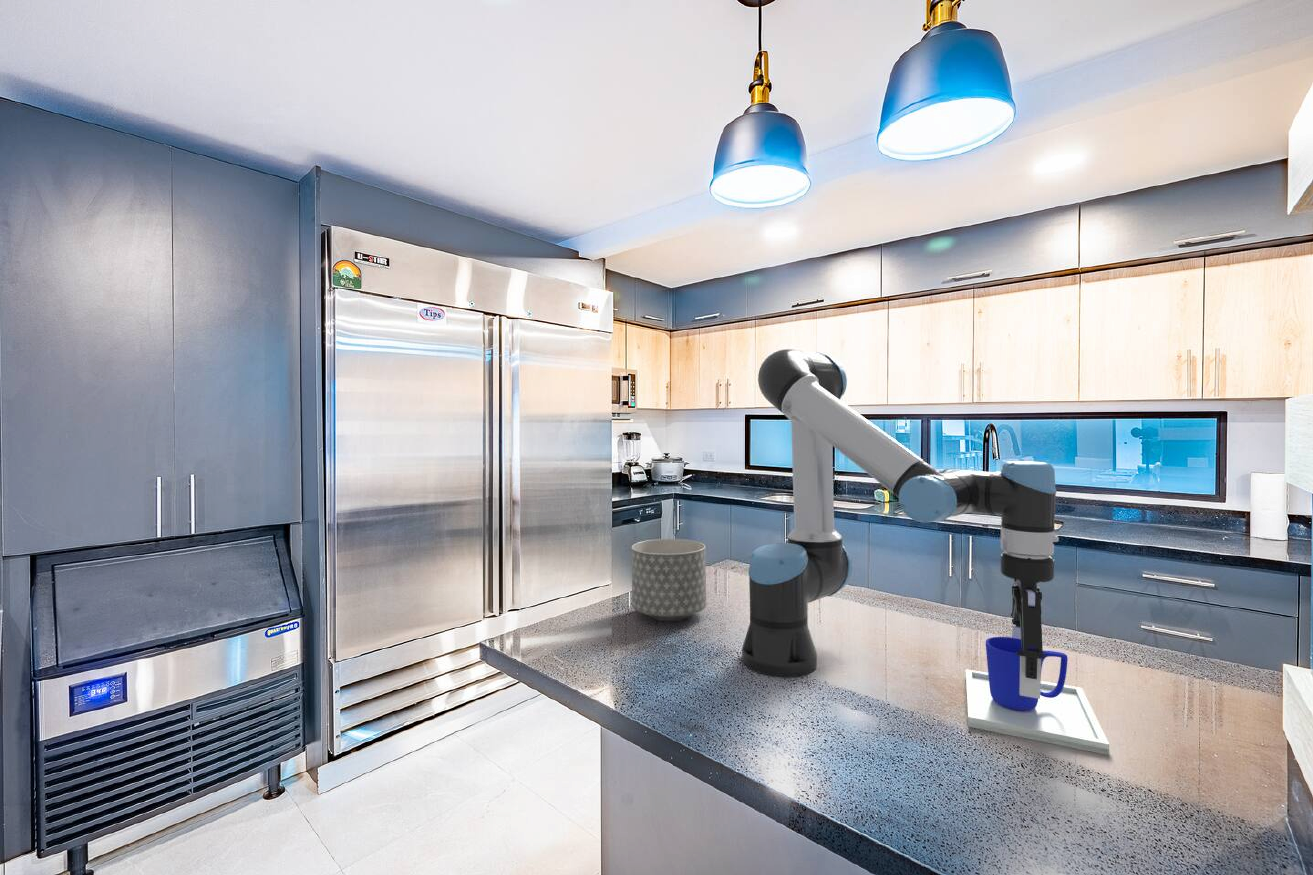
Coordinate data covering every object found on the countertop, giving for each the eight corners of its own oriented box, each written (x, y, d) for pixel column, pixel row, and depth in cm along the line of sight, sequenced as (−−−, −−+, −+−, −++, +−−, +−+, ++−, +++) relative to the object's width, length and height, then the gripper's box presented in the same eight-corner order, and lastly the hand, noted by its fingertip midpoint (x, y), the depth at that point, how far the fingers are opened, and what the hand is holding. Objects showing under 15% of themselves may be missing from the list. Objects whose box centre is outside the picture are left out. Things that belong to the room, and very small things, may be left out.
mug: (1079, 720, 91) (1079, 658, 91) (995, 713, 94) (995, 652, 94) (1055, 696, 99) (1054, 639, 99) (978, 690, 102) (978, 635, 102)
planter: (639, 603, 158) (638, 538, 157) (708, 605, 155) (707, 539, 155) (626, 627, 139) (625, 553, 139) (704, 630, 136) (703, 554, 136)
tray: (968, 726, 91) (968, 716, 91) (965, 677, 109) (965, 669, 109) (1109, 754, 83) (1109, 744, 83) (1081, 696, 101) (1081, 687, 101)
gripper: (1067, 574, 83) (1064, 718, 83) (1043, 541, 105) (1041, 655, 106) (1007, 568, 86) (1005, 706, 87) (995, 538, 108) (994, 648, 109)
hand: (1024, 679), depth 96 cm, fingers open, 13 cm apart
